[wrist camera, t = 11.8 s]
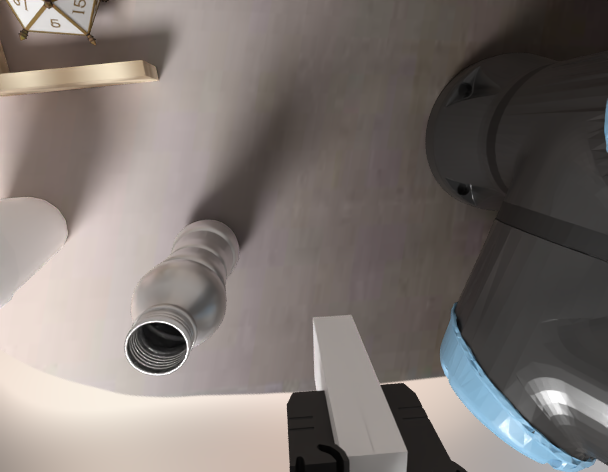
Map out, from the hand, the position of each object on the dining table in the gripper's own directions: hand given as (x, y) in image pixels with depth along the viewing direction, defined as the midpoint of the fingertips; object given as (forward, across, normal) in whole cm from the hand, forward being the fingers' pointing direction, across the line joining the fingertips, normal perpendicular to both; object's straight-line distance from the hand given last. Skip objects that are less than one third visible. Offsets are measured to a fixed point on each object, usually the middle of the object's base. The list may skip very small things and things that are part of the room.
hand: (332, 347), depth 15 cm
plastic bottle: (+27, +9, +4) cm, 29 cm away
